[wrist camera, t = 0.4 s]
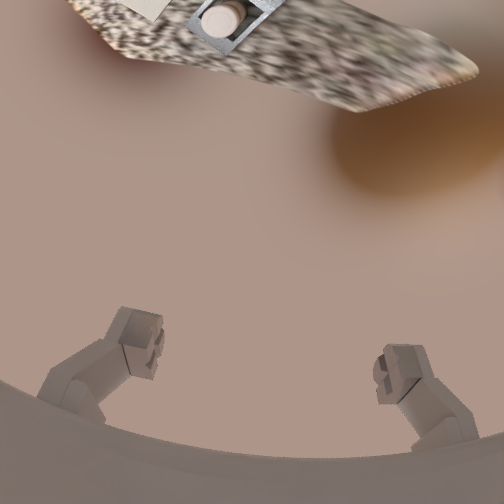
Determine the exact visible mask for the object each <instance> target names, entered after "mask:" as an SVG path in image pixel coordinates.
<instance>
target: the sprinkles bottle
mask: <svg viewBox="0 0 504 504" xmlns="http://www.w3.org/2000/svg"><path fill="white" fill-rule="evenodd" d="M247 14H248V9H247V6H246V5H245V3H243V2H242V1H240V0H228V1H226V2H224V3H221V4H219V5H216V6H213V7H211V8H209V9H208V10H207V11H206V12H205V13H204V14H203V16H202V19H201V26H202V28H203V30H204V31H205V32H206V33H207V34H208V35H210V36H212V37H215V38H223V37H227V36H229V35H231V34H232V33H233V32H234V31H235V30H236V29H237V27H238V25H239V24H240V23H241V22H242V21H243V20H244V19H245V18H246V16H247Z"/></svg>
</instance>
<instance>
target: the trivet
mask: <svg viewBox="0 0 504 504" xmlns="http://www.w3.org/2000/svg"><path fill="white" fill-rule="evenodd" d="M116 1H118V2H120V3H122V4H123V5H125V6H127V7H129V8H130V9H132V10H134V11H136V12H137V13H139V14H141V15H142V16H144V17H146V18H147V19H149V20H150V21H152V22H155V21H156V20H157V18H158V17H159V16H160V14H161V13H162V12H163V11H164V9H165V8H166V7H167V6H168V4H169V3H170V2H171V1H172V0H116Z"/></svg>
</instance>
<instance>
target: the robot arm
mask: <svg viewBox="0 0 504 504" xmlns="http://www.w3.org/2000/svg"><path fill="white" fill-rule="evenodd" d="M162 324H163V316H162V315H158V314H154V313H150V312H145V311H141V310H137V309H132V308H128V307H123V306H122V307H121V308H120V309H119V310H118V312H117V314H116V316H115V318H114V320H113V321H112V323H111V325H110V327H109V329H108V331H107V333H106V336H105V337H104V339H98V340H97V341H95V342H94V343H92V344H90V345H89V346H87V347H85V348H84V349H82V350H81V351H79V352H77V353H76V354H74V355H72V356H71V357H69V358H68V359H66V360H64V361H63V362H61V363H60V364H58V365H56V366H55V367H53V368H51V369H50V371H49V373H48V375H47V377H46V379H45V381H44V383H43V385H42V387H41V389H40V391H39V393H38V395H37V397H34V396H32V395H29V394H27V393H25V392H23V391H21V390H19V389H17V388H15V387H13V386H11V385H9V384H7V383H5V382H3V381H1V380H0V504H504V432H501V433H498V434H494V435H491V436H487V437H484V438H479V435H478V431H477V427H476V424H475V421H474V417H473V414H472V412H471V411H470V410H469V409H468V408H467V407H466V406H465V405H464V404H463V403H462V402H461V401H460V400H459V399H458V398H457V397H456V396H455V395H454V394H453V393H452V392H451V391H450V390H449V389H448V388H447V387H446V386H445V385H444V384H443V383H442V382H441V381H440V380H439V379H438V378H435V377H434V374H433V372H432V369H431V366H430V363H429V360H428V357H427V354H426V351H425V349H424V347H423V346H422V345H410V344H388V345H386V346H385V348H384V349H383V352H384V354H383V355H381V356H379V357H378V358H377V360H376V362H375V364H374V368H373V377H374V381H375V382H376V383H377V384H378V387H377V389H376V392H377V397H378V402H379V404H398V407H399V409H400V410H401V411H402V413H403V414H404V415H405V417H406V418H407V420H408V421H409V422H410V424H411V425H412V427H413V428H414V429H415V431H416V432H417V434H418V435H419V436H420V438H421V439H419V440H418V441H417V442H416V443H414V444H413V445H412V447H411V449H412V452H408V453H401V454H392V455H382V456H369V457H355V458H354V457H353V458H289V457H272V456H259V455H249V454H239V453H232V452H224V451H217V450H211V449H204V448H199V447H193V446H188V445H182V444H178V443H173V442H168V441H164V440H160V439H155V438H151V437H147V436H144V435H140V434H136V433H132V432H129V431H125V430H122V429H118V428H115V427H112V426H109V425H106V424H104V423H105V420H106V418H105V416H104V414H103V412H102V411H101V409H100V407H99V406H98V404H99V403H100V402H101V401H102V400H104V399H105V398H106V397H107V396H108V395H109V394H110V393H112V392H113V391H114V390H115V389H117V388H118V387H119V386H120V385H121V384H122V383H123V382H125V381H126V380H127V379H128V378H129V377H130V375H132V376H136V377H141V378H145V379H150V380H153V378H154V374H155V372H156V369H157V358H158V357H159V356H161V353H162V350H163V344H164V330H163V329H162V328H161V327H162Z"/></svg>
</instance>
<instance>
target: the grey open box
mask: <svg viewBox="0 0 504 504" xmlns="http://www.w3.org/2000/svg"><path fill="white" fill-rule="evenodd" d="M215 1H216V0H206V1H205V2H204V3H203V4H202V5H201V7H200V8H199V9H198V10H197V11H196V12H195V13H194V15H193V16H192V17H191V18H190V19H189V20H188V21H187V23H186V24H185V25H184V26H185V27H186V28H188V29H189V30H191V31H192V32H193V33H195V34H196V35H198V36H199V37H201V38H202V39H203V40H205V41H206V42H208V43H209V44H210V45H212V46H213V47H215V48H216V49H217V50H219V51H220V52H221V53H223V54H224V55H225V56H227V55H228V54H229V53H230V52H231V51H232V50H233V49H234V48H235V47H236V46H237V45H238V44H239V43H240V42H241V41H242V40H243V39H244V38H245V37H246V36H247V35H248V34H249V33H250V32H251V31H252V30H253V29H254V28H255V27H257V26H258V25H259V24H260V23H261V22H262V21H263V20H264V19H265V18H266V17H267V16H268V15H270V14H271V13H272V12H273V11H274V10H275V9H276V8H277V7H279V6H280V5H281V4H282V3H283V2H284V1H286V0H249V1H251V2H252V3H253V4H254V5H256V6H257V7H258V8H260V9H261V10H262V11H263V13H262V14H261V15H260V16H258V17H257V18H256V19H255V20H254V21H253V22H252V23H251V24H250V25H249V26H248V27H247V28H246V29H245V30H244V31H243V32H242V33H241V34H240V35H239V36H238V37H237V38H236V37H235V36H233V35H232V34H231V35H229V36H227V37H223V38H215V37H212V36H210V35H208V34H207V33H206V32H205V31H204V30H203V28H202V26H201V19H202V16H203V14H204V13H205V12H206V11H207V10H208V9H209V8H210V7H211V5H212V4H213V3H214V2H215Z"/></svg>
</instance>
